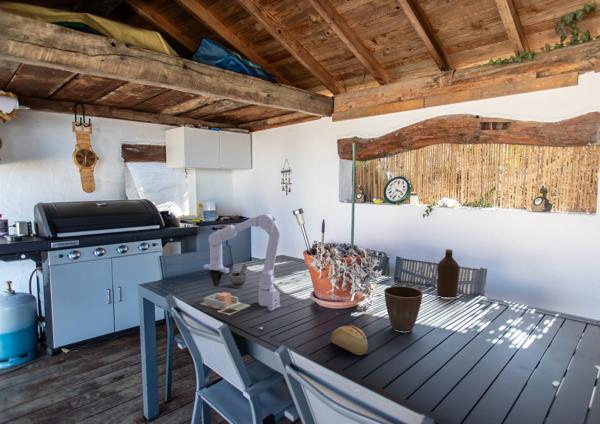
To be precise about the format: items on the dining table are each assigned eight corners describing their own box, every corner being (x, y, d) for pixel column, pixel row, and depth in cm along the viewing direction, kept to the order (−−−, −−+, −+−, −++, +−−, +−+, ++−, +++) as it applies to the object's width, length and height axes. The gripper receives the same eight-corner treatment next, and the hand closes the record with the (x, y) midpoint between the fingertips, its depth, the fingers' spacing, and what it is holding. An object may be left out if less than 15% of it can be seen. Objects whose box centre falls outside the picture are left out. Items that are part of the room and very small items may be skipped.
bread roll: (340, 338, 143) (341, 318, 142) (374, 351, 133) (375, 329, 132) (324, 346, 136) (325, 325, 135) (359, 360, 126) (359, 337, 125)
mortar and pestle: (236, 290, 201) (236, 268, 200) (226, 286, 207) (225, 265, 206) (252, 286, 209) (252, 265, 208) (242, 282, 215) (242, 262, 214)
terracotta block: (231, 303, 176) (231, 293, 175) (224, 305, 172) (224, 296, 172) (224, 301, 178) (223, 292, 178) (217, 303, 174) (217, 294, 174)
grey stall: (238, 302, 177) (238, 297, 177) (224, 308, 169) (224, 302, 168) (218, 297, 183) (217, 292, 183) (203, 303, 175) (203, 297, 175)
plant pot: (394, 339, 142) (396, 298, 140) (376, 324, 156) (377, 287, 155) (428, 335, 146) (430, 296, 144) (407, 321, 160) (409, 285, 159)
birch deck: (251, 308, 173) (251, 305, 173) (229, 318, 161) (229, 314, 161) (216, 300, 184) (216, 297, 184) (194, 308, 172) (194, 305, 172)
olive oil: (451, 301, 186) (453, 252, 184) (431, 296, 195) (434, 249, 192) (461, 297, 193) (464, 250, 191) (442, 292, 201) (444, 247, 199)
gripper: (233, 257, 175) (233, 286, 177) (211, 254, 183) (211, 281, 184) (223, 260, 169) (223, 289, 171) (200, 256, 177) (200, 284, 178)
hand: (216, 285), depth 177 cm, fingers closed
